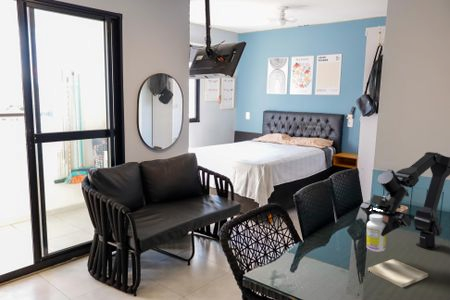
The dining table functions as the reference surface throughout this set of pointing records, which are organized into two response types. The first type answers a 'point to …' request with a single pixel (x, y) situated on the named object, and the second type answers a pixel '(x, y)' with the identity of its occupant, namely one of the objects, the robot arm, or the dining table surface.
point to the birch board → (398, 272)
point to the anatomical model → (402, 209)
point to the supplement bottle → (376, 233)
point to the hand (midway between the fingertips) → (373, 232)
